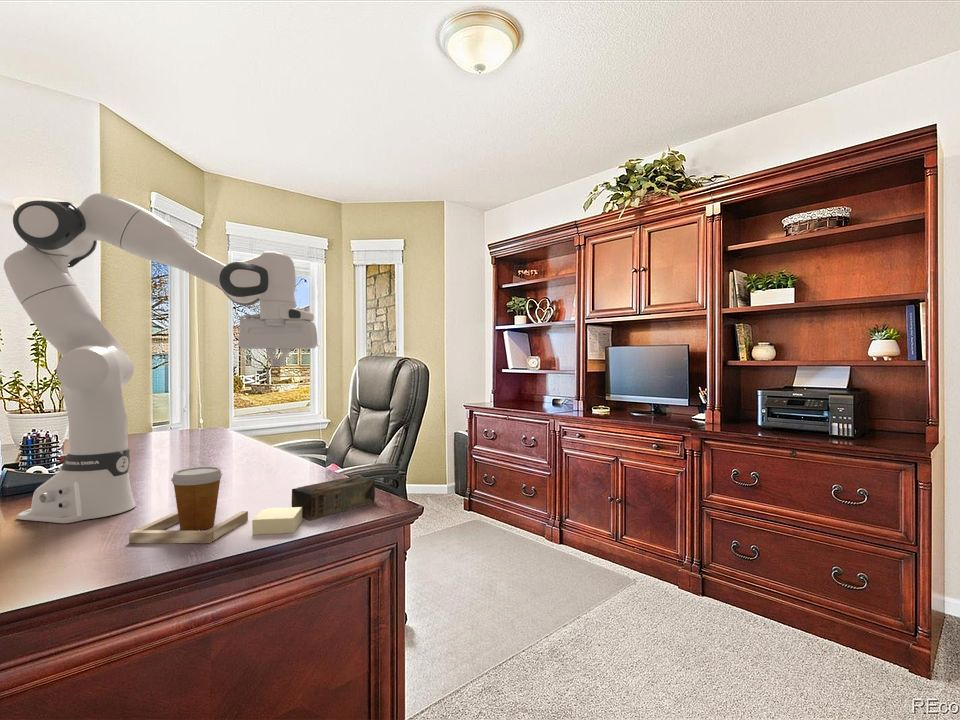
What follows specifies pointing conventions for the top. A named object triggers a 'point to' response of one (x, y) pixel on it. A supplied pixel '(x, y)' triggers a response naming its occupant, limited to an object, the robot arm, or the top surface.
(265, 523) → the note block
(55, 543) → the top surface
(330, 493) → the beverage carton
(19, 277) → the robot arm
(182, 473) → the disposable coffee cup
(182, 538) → the frame
